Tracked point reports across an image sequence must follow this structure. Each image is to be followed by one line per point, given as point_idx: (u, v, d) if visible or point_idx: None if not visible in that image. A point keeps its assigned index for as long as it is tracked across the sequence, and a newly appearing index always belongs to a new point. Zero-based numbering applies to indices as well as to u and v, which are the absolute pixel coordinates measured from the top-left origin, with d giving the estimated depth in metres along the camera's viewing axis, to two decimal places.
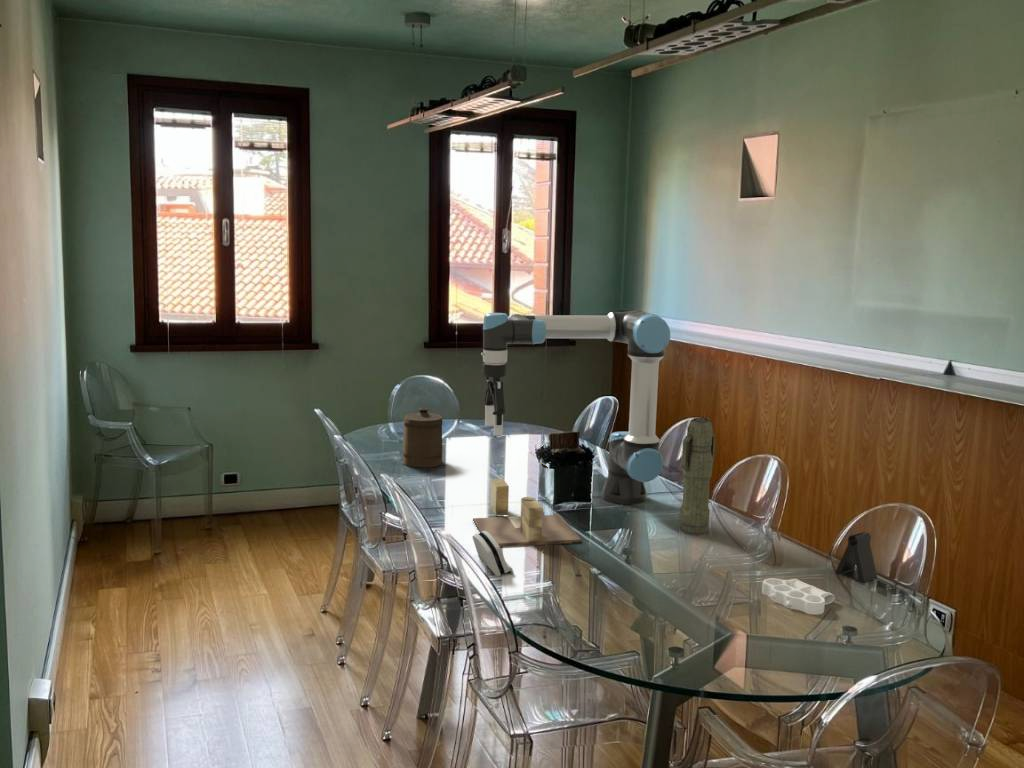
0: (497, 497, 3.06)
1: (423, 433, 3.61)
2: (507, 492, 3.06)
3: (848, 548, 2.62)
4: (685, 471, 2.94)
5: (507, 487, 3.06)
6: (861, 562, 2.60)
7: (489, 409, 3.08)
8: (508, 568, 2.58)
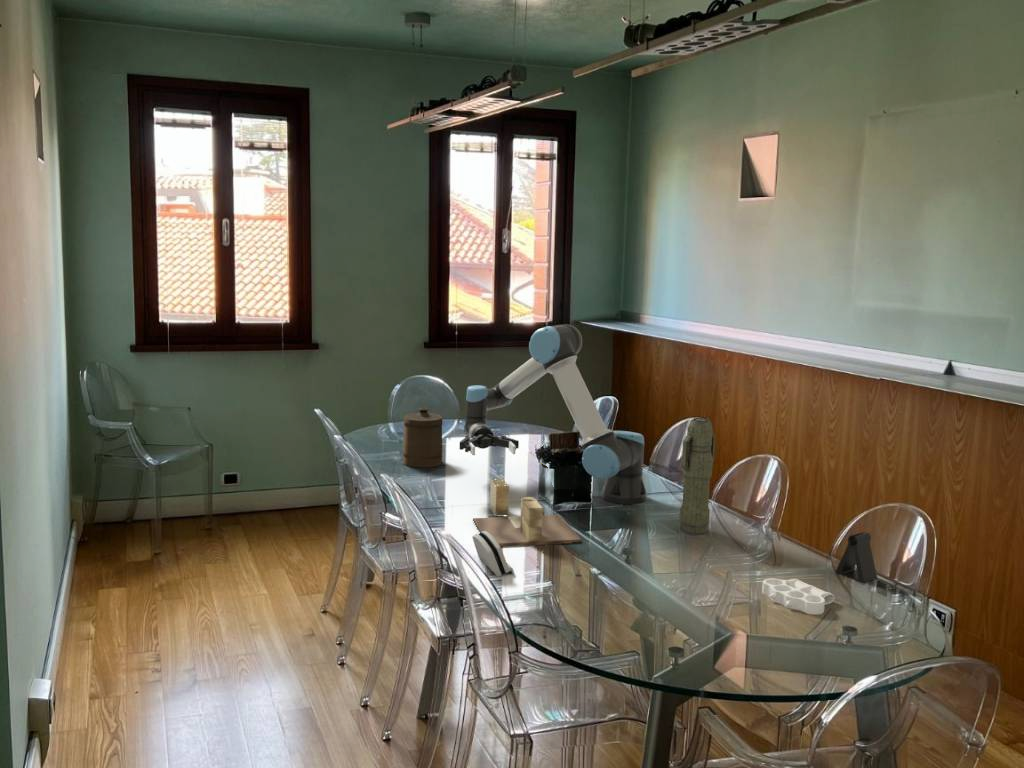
0: (497, 497, 3.06)
1: (423, 433, 3.61)
2: (507, 492, 3.06)
3: (848, 548, 2.62)
4: (685, 471, 2.94)
5: (507, 487, 3.06)
6: (861, 562, 2.60)
7: (509, 446, 3.24)
8: (509, 568, 2.58)
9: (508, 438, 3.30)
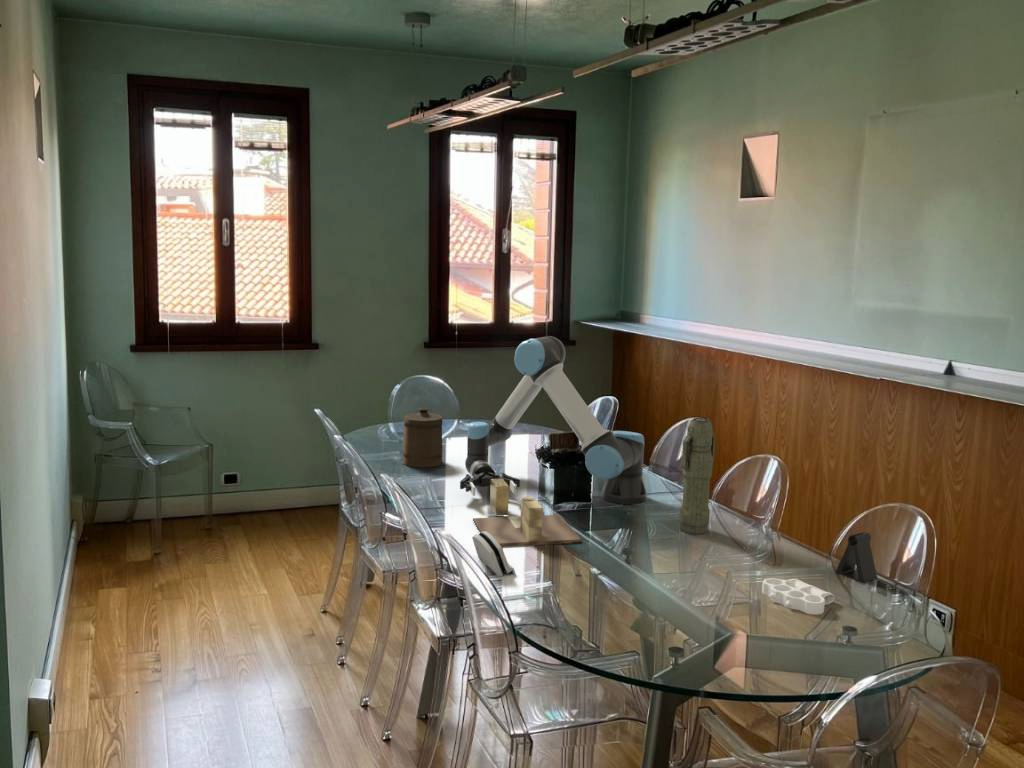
0: (497, 497, 3.06)
1: (423, 433, 3.61)
2: (507, 492, 3.06)
3: (848, 548, 2.62)
4: (685, 471, 2.94)
5: (507, 487, 3.06)
6: (861, 562, 2.60)
7: (510, 485, 3.21)
8: (510, 568, 2.58)
9: (509, 476, 3.27)
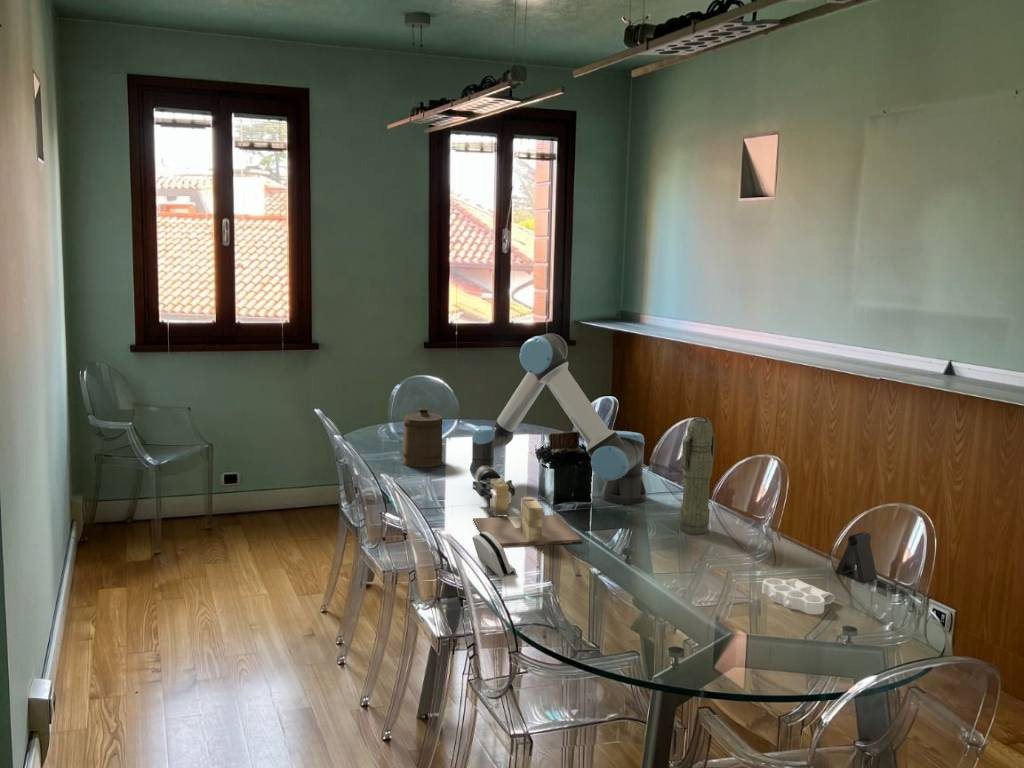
0: (497, 497, 3.06)
1: (423, 433, 3.61)
2: (507, 492, 3.06)
3: (848, 548, 2.62)
4: (685, 471, 2.94)
5: (507, 487, 3.06)
6: (861, 562, 2.60)
7: None
8: (511, 568, 2.58)
9: (510, 484, 3.18)
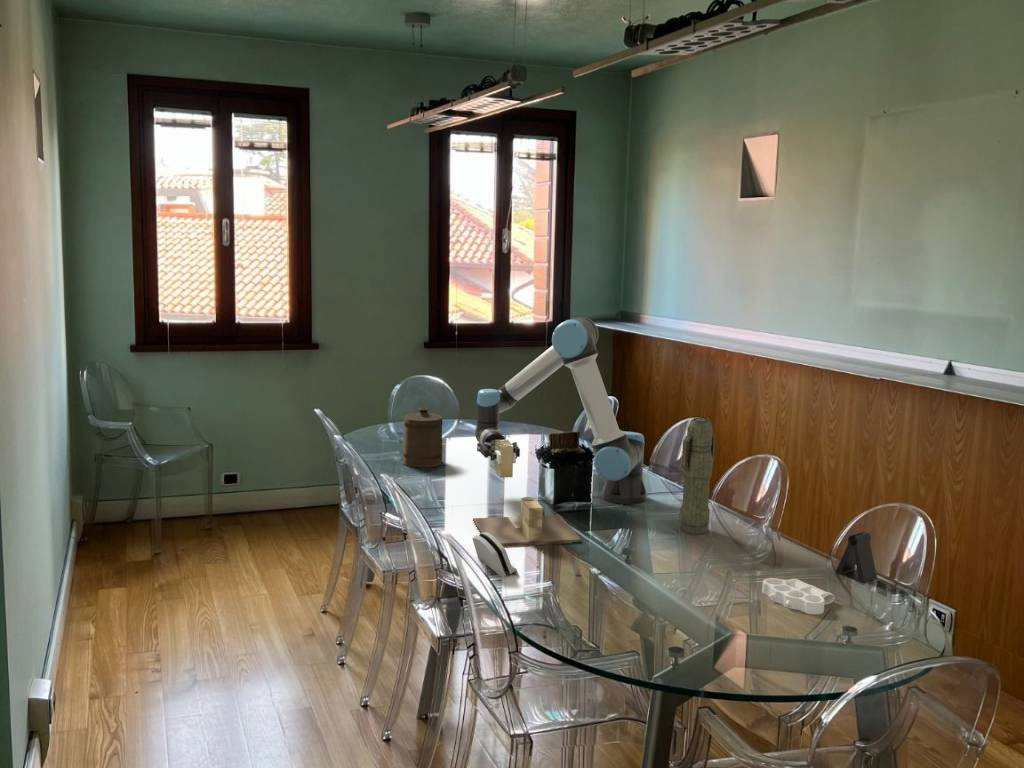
0: (501, 457, 3.00)
1: (423, 433, 3.61)
2: (512, 452, 3.01)
3: (848, 548, 2.62)
4: (685, 471, 2.94)
5: (512, 447, 3.00)
6: (861, 562, 2.60)
7: None
8: (513, 569, 2.57)
9: (515, 445, 3.12)
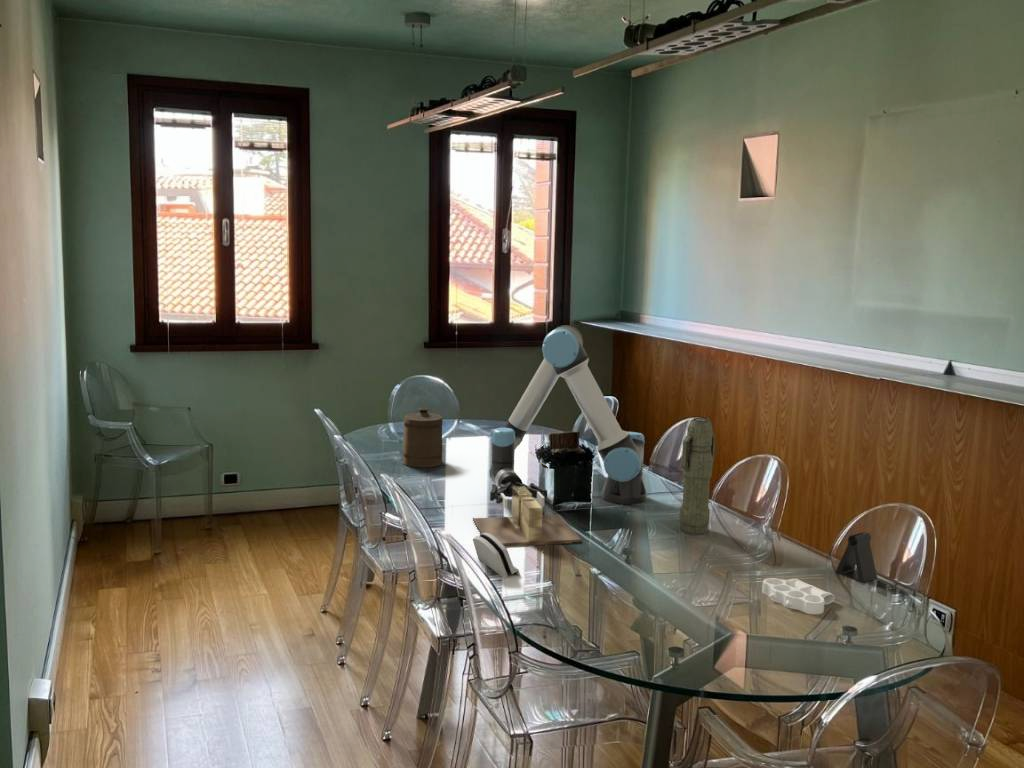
0: (520, 506, 2.93)
1: (423, 433, 3.61)
2: None
3: (848, 548, 2.62)
4: (685, 471, 2.94)
5: (530, 495, 2.93)
6: (861, 562, 2.60)
7: (537, 497, 3.00)
8: (514, 569, 2.57)
9: (537, 487, 3.07)
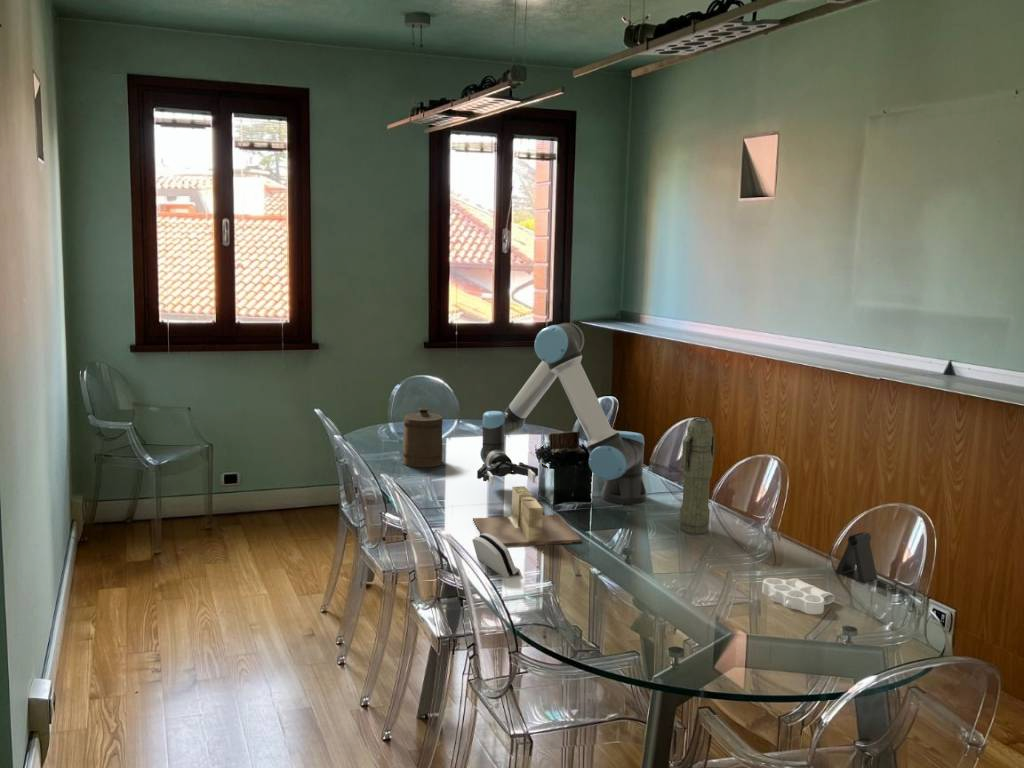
0: (520, 506, 2.93)
1: (423, 433, 3.61)
2: None
3: (848, 548, 2.62)
4: (685, 471, 2.94)
5: (530, 495, 2.93)
6: (861, 562, 2.60)
7: (528, 474, 3.14)
8: (516, 569, 2.57)
9: (527, 465, 3.20)
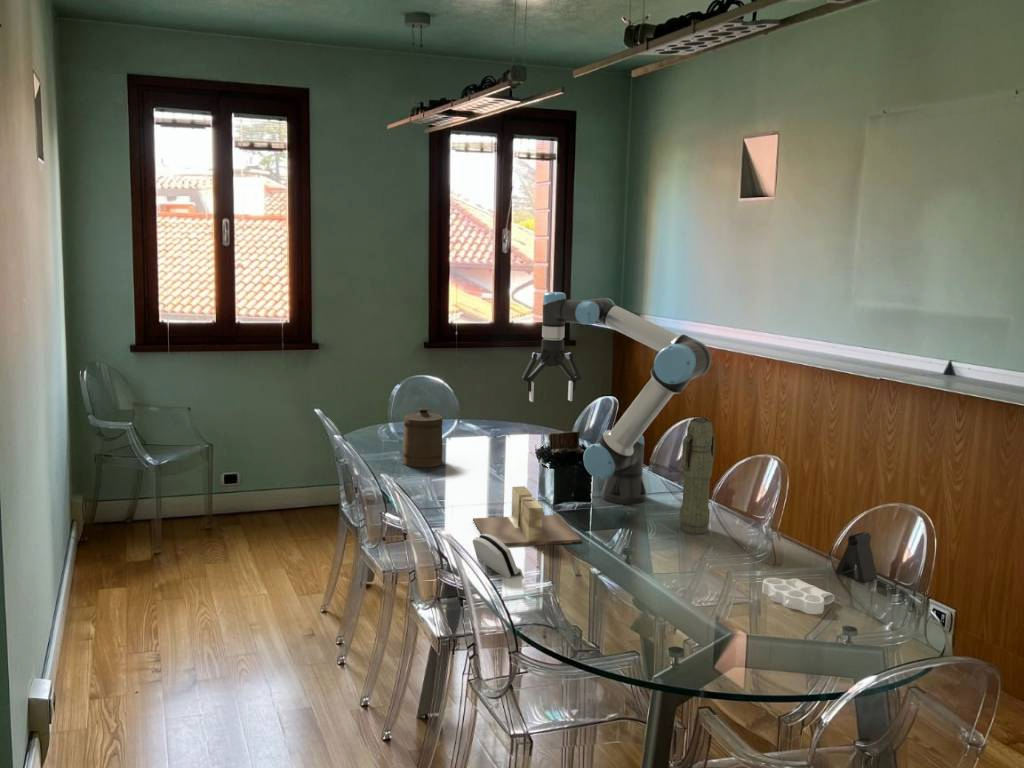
0: (520, 506, 2.93)
1: (423, 433, 3.61)
2: None
3: (848, 548, 2.62)
4: (685, 471, 2.94)
5: (530, 495, 2.93)
6: (861, 562, 2.60)
7: (569, 384, 3.29)
8: (517, 569, 2.57)
9: (574, 367, 3.26)
